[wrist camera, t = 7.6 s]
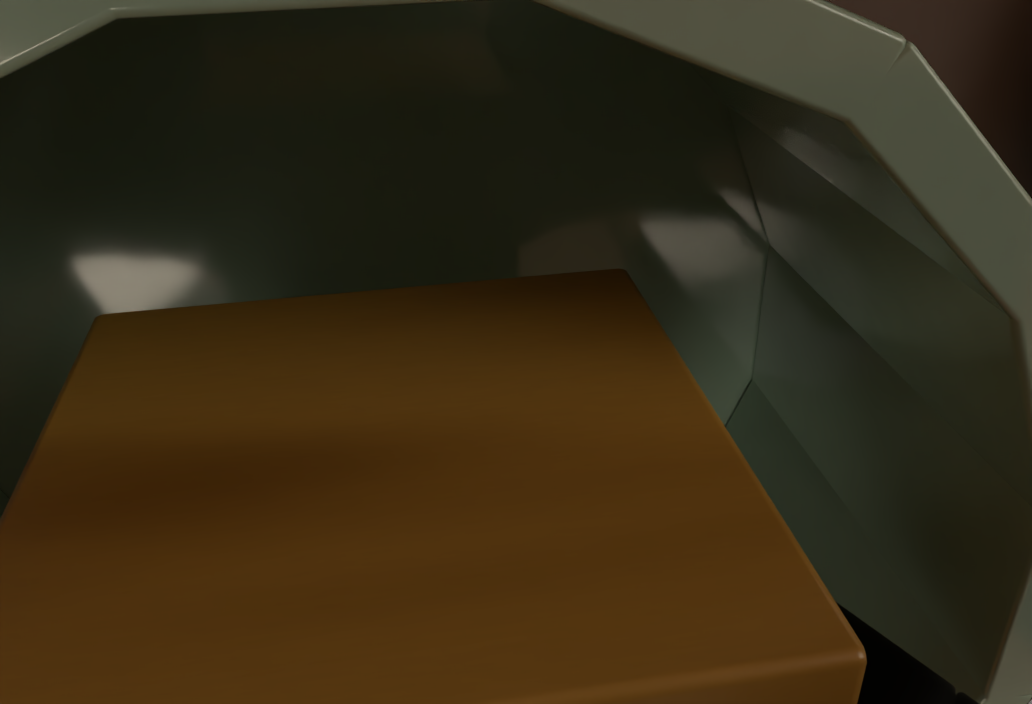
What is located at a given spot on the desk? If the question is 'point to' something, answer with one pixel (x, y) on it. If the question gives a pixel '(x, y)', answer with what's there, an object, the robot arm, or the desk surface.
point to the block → (404, 513)
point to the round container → (577, 236)
